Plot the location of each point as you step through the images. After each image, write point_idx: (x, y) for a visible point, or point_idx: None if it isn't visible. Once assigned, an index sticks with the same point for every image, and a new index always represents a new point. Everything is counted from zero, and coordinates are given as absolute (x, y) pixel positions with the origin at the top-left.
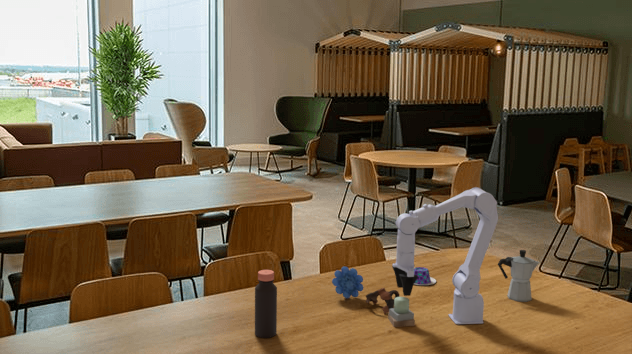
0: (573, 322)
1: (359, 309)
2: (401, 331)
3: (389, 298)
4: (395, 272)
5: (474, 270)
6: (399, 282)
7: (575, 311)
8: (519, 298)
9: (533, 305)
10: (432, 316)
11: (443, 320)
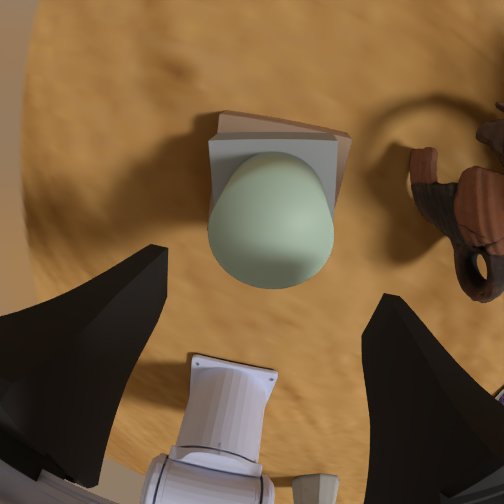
0: None
1: (497, 68)
2: (162, 126)
3: (460, 222)
4: (455, 412)
5: None
6: (392, 341)
7: None
8: (298, 482)
9: (271, 479)
10: (293, 328)
11: (242, 341)
